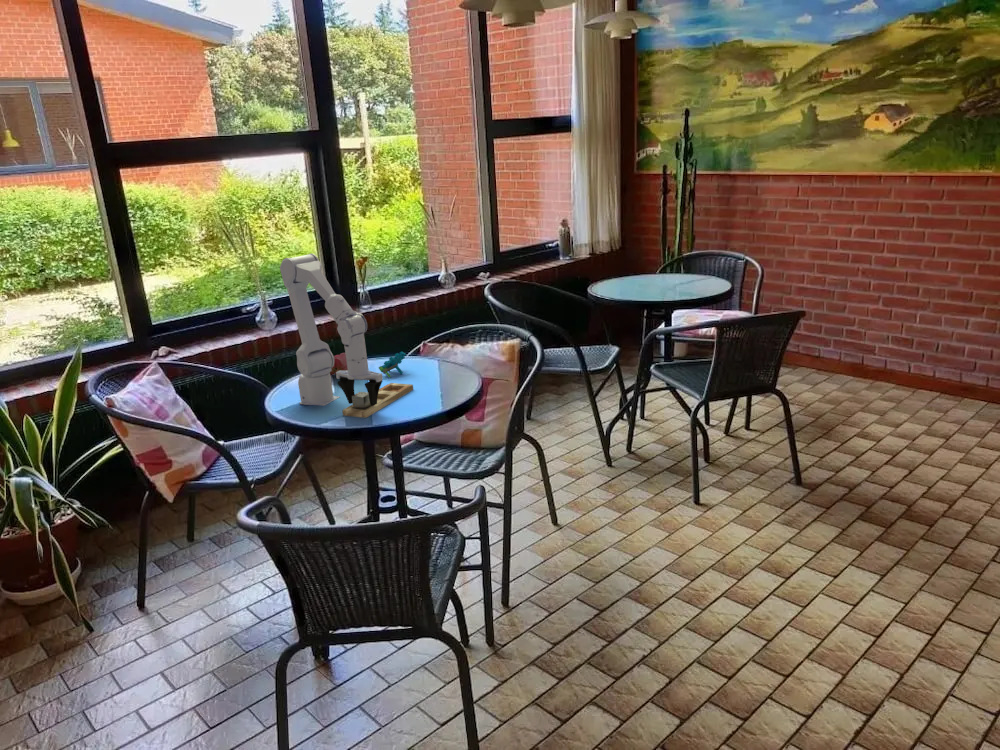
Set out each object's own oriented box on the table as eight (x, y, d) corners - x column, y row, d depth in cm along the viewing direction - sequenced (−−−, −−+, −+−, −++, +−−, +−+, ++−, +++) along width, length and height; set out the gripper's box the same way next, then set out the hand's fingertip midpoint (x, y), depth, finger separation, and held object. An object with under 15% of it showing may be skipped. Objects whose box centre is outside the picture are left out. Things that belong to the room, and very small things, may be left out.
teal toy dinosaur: (398, 362, 254) (406, 346, 246) (408, 375, 253) (417, 359, 245) (373, 375, 247) (381, 358, 239) (383, 388, 246) (392, 372, 238)
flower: (328, 384, 253) (337, 356, 255) (353, 388, 249) (361, 360, 251) (309, 374, 242) (318, 345, 245) (334, 378, 239) (343, 349, 241)
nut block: (353, 412, 211) (351, 396, 210) (362, 408, 214) (359, 391, 213) (365, 413, 209) (363, 397, 208) (373, 409, 213) (371, 392, 211)
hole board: (343, 416, 210) (342, 409, 209) (391, 388, 231) (390, 382, 231) (366, 419, 206) (365, 412, 206) (413, 390, 228) (412, 384, 227)
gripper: (326, 360, 207) (333, 406, 211) (369, 363, 201) (376, 410, 205) (342, 353, 213) (348, 398, 217) (384, 356, 207) (390, 402, 211)
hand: (362, 403), depth 211 cm, fingers open, 7 cm apart
